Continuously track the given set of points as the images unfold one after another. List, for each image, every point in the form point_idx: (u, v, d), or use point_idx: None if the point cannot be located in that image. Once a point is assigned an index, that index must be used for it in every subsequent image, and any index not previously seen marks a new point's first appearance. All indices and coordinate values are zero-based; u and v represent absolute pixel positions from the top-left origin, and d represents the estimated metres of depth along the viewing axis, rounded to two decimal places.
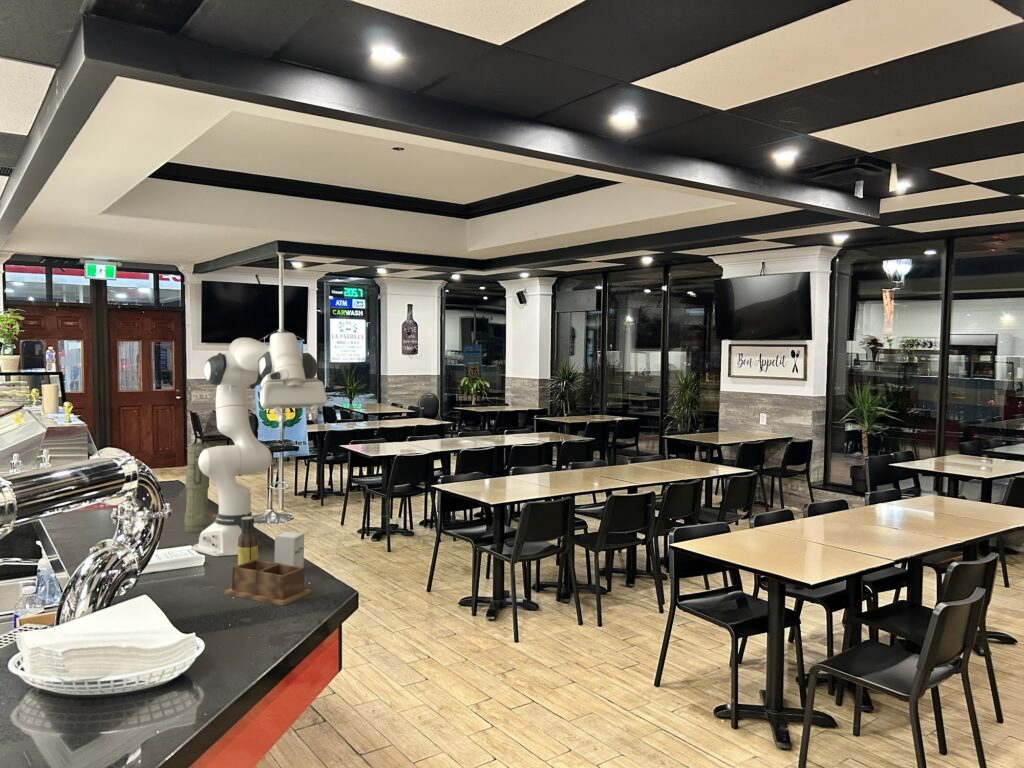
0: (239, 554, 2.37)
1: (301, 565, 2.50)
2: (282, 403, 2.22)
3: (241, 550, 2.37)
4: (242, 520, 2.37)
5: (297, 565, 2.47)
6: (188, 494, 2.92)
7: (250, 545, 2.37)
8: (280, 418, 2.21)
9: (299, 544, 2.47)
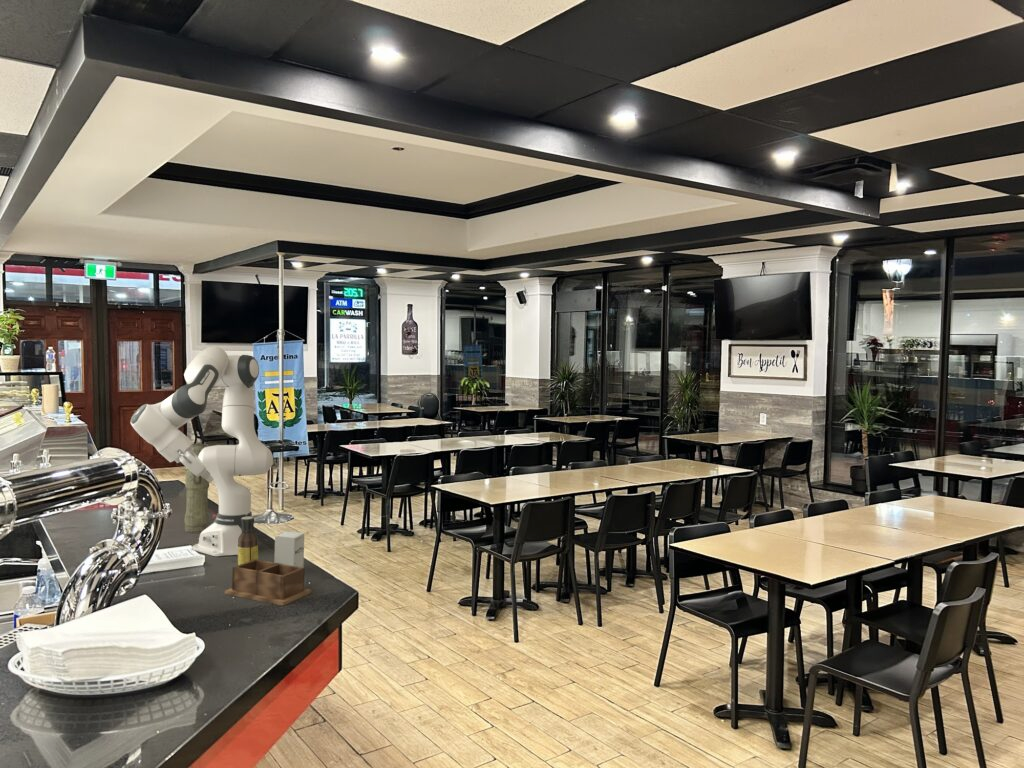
0: (239, 554, 2.37)
1: (301, 565, 2.50)
2: None
3: (241, 550, 2.37)
4: (242, 520, 2.37)
5: (297, 565, 2.47)
6: (188, 494, 2.92)
7: (250, 545, 2.37)
8: None
9: (299, 544, 2.47)
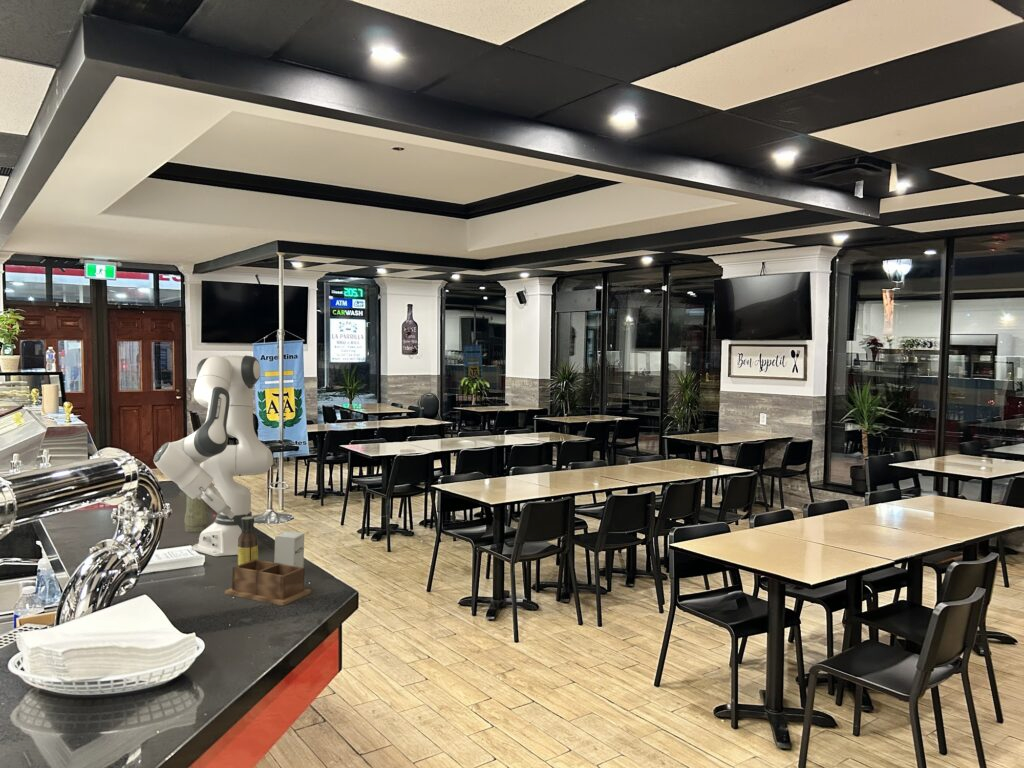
0: (239, 554, 2.37)
1: (301, 565, 2.50)
2: None
3: (241, 550, 2.37)
4: (242, 520, 2.37)
5: (297, 565, 2.47)
6: None
7: (250, 545, 2.37)
8: None
9: (299, 544, 2.47)
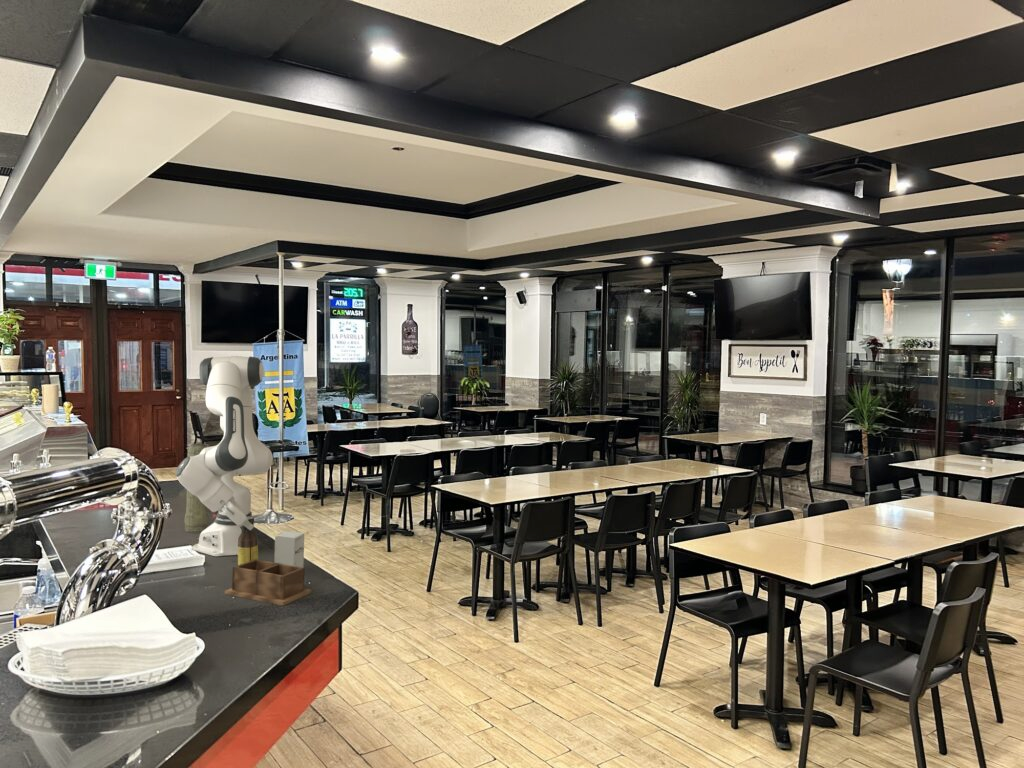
0: (239, 554, 2.37)
1: (301, 565, 2.50)
2: None
3: (241, 550, 2.37)
4: None
5: (297, 565, 2.47)
6: (188, 494, 2.92)
7: (250, 545, 2.37)
8: None
9: (299, 544, 2.47)
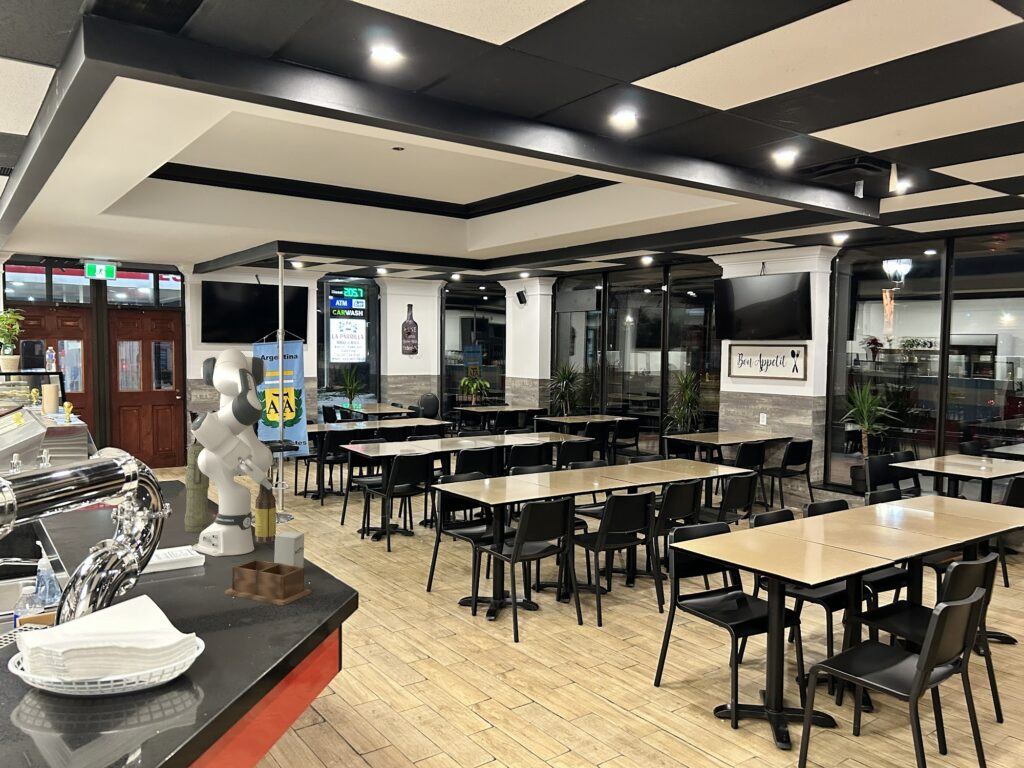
0: (256, 516, 2.27)
1: (301, 565, 2.50)
2: None
3: (259, 512, 2.27)
4: None
5: (297, 565, 2.47)
6: (188, 494, 2.92)
7: (268, 507, 2.27)
8: None
9: (299, 544, 2.47)
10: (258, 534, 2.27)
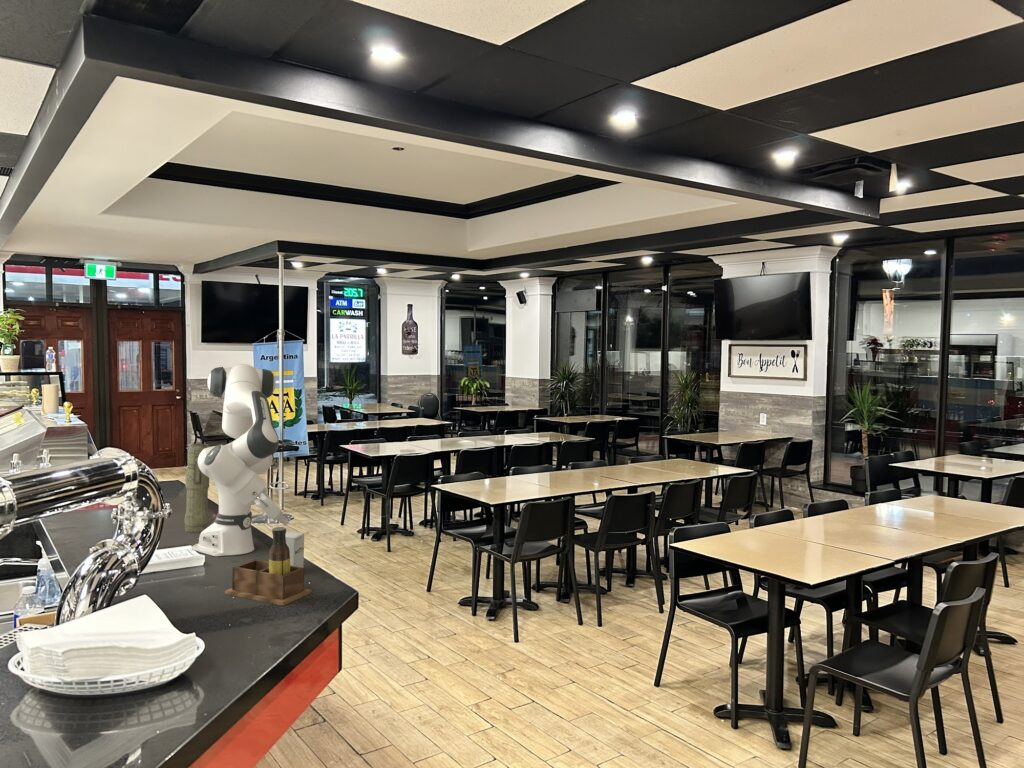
0: (270, 568, 2.21)
1: (301, 565, 2.50)
2: None
3: (272, 564, 2.20)
4: (273, 531, 2.21)
5: (297, 565, 2.47)
6: (188, 494, 2.92)
7: (281, 559, 2.21)
8: None
9: (299, 544, 2.47)
10: None
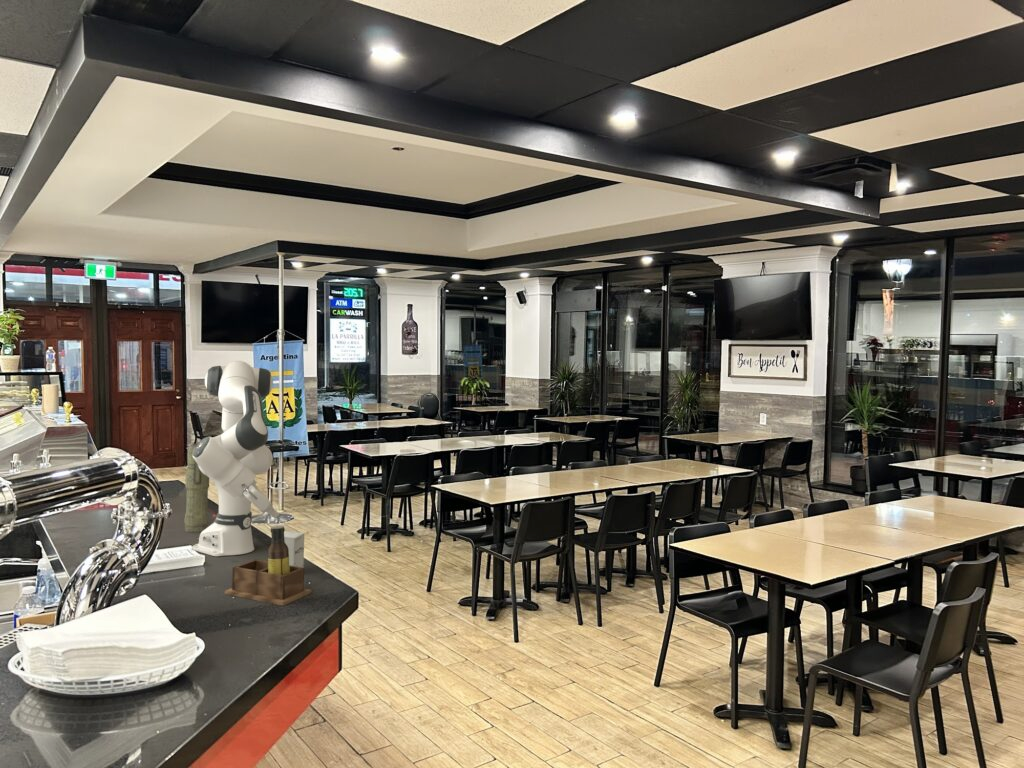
0: (270, 567, 2.22)
1: (301, 565, 2.50)
2: None
3: (272, 562, 2.21)
4: (272, 530, 2.22)
5: (297, 565, 2.47)
6: (188, 494, 2.92)
7: (281, 557, 2.21)
8: None
9: (299, 544, 2.47)
10: None
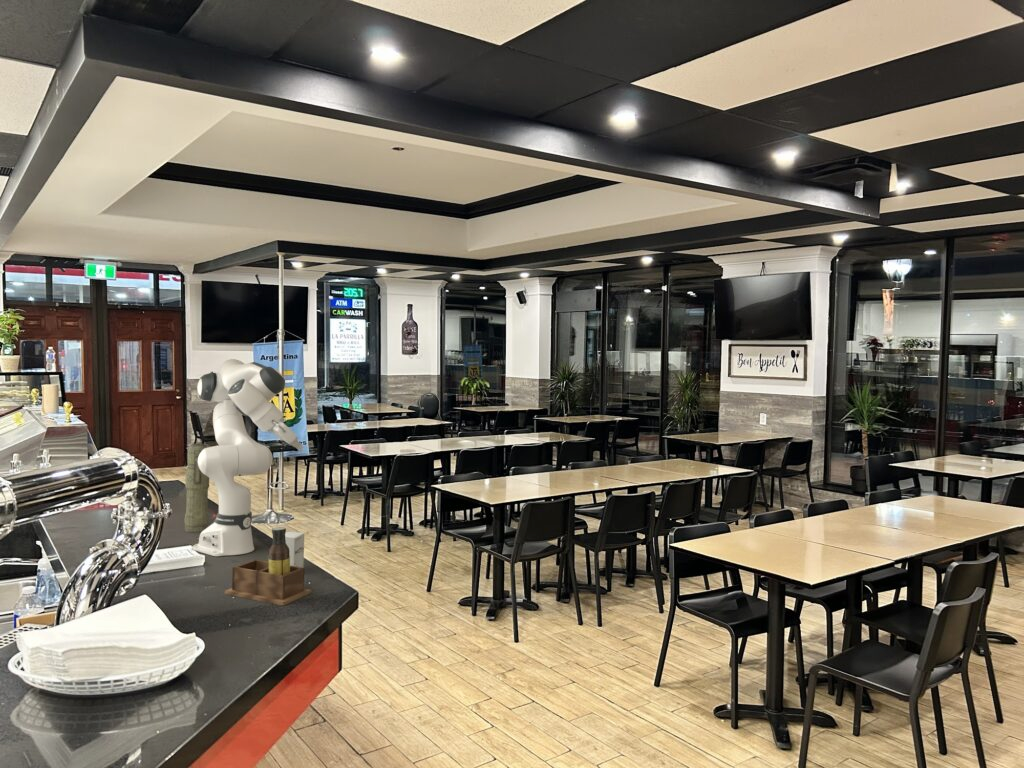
0: (270, 568, 2.21)
1: (301, 565, 2.50)
2: None
3: (272, 563, 2.21)
4: (273, 531, 2.21)
5: (297, 565, 2.47)
6: (188, 494, 2.92)
7: (281, 558, 2.21)
8: None
9: (299, 544, 2.47)
10: None
